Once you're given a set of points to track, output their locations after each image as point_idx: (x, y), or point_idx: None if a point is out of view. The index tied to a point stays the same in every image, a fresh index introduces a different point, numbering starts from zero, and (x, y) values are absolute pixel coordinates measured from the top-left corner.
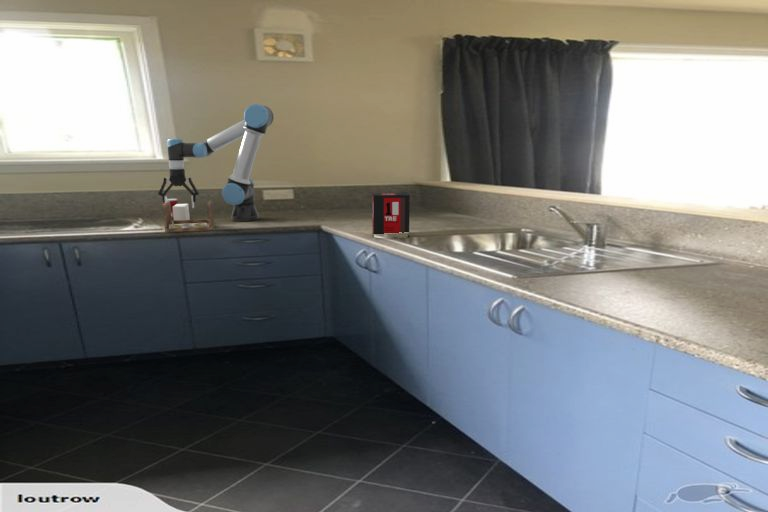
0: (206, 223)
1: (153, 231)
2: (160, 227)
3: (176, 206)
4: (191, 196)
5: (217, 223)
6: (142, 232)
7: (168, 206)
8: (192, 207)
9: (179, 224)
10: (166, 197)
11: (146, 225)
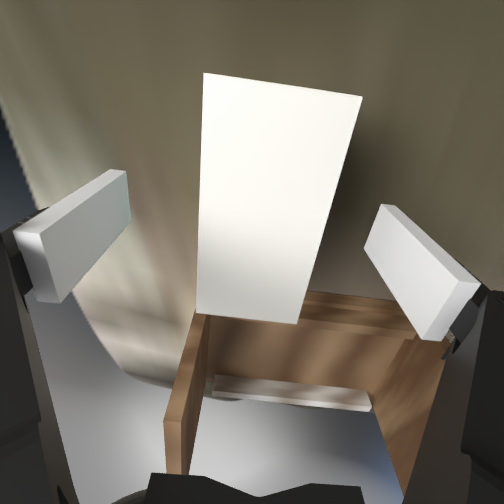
0: (367, 410)
1: (150, 349)
2: (153, 272)
3: (227, 297)
4: (422, 336)
5: (462, 251)
6: (111, 354)
7: (188, 428)
8: (369, 252)
9: (256, 398)
10: (63, 258)
11: (40, 177)
